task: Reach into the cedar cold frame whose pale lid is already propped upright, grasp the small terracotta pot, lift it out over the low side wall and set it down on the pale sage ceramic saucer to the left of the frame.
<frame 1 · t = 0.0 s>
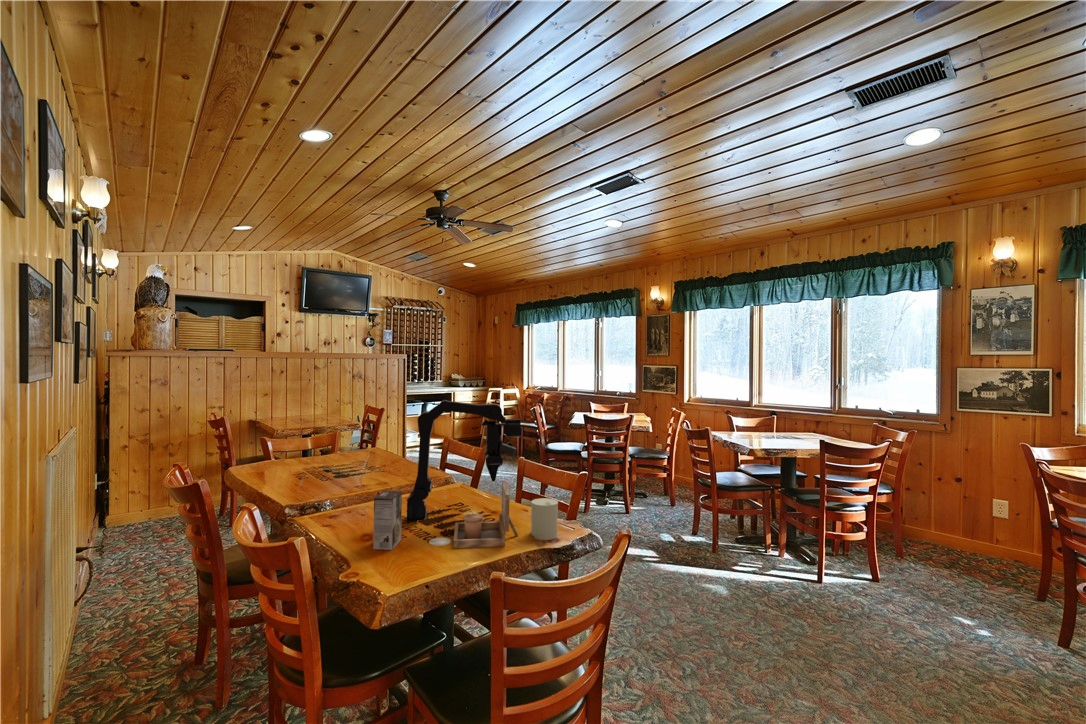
hand: (493, 478, 194), 15 cm above the table, fingers open, 9 cm apart
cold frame: (479, 539, 170), on the table
can: (544, 536, 175), on the table
terracotta pot: (472, 537, 169), point 1 cm above the table, touching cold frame
saucer: (439, 544, 165), on the table
coffee box: (387, 545, 164), on the table
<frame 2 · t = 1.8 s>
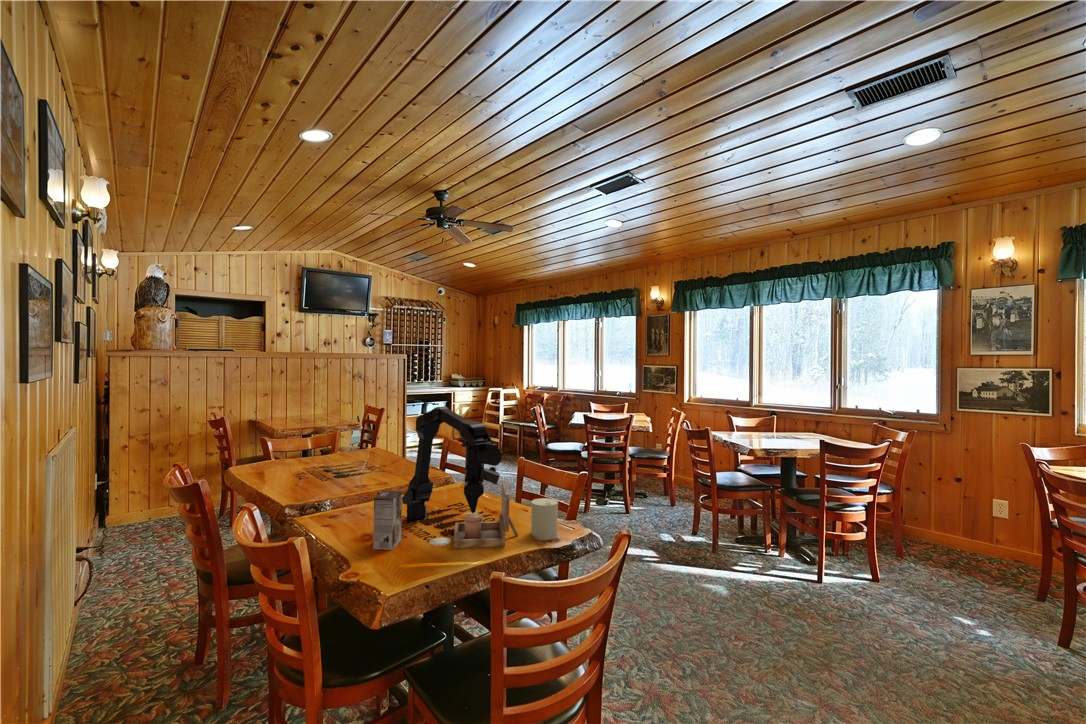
hand: (473, 508, 169), 10 cm above the table, fingers open, 9 cm apart
nothing on the table moved.
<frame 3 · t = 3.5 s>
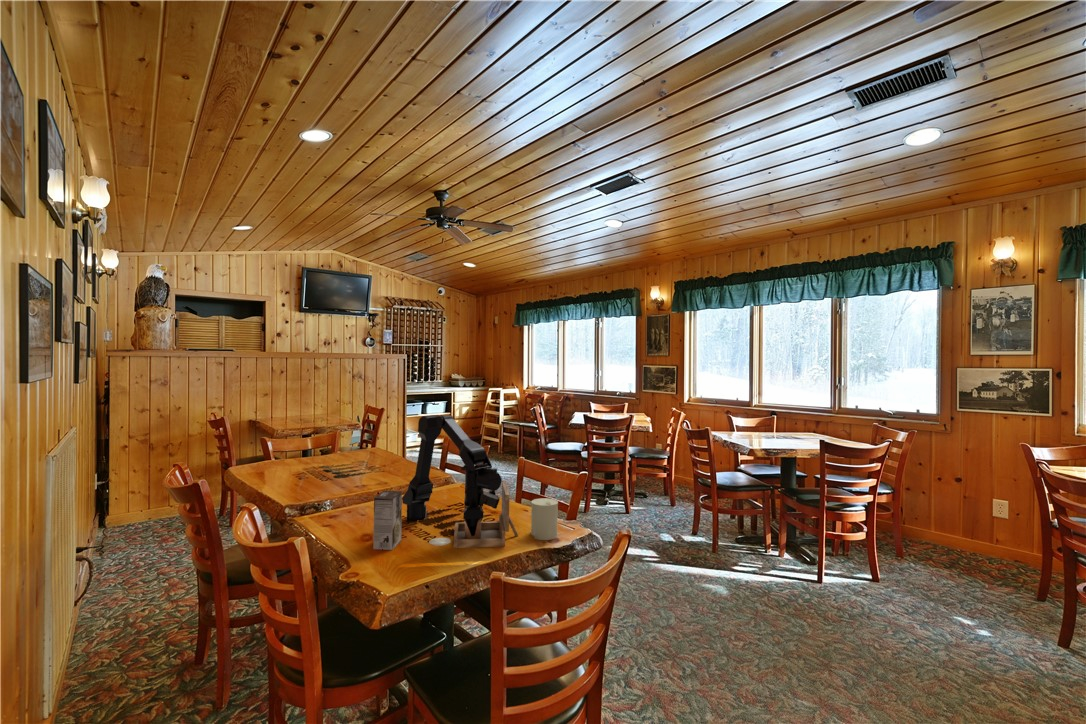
hand: (473, 532, 169), 2 cm above the table, fingers closed on terracotta pot, 5 cm apart
terracotta pot: (472, 537, 169), point 1 cm above the table, touching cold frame, gripper
everything else where it was.
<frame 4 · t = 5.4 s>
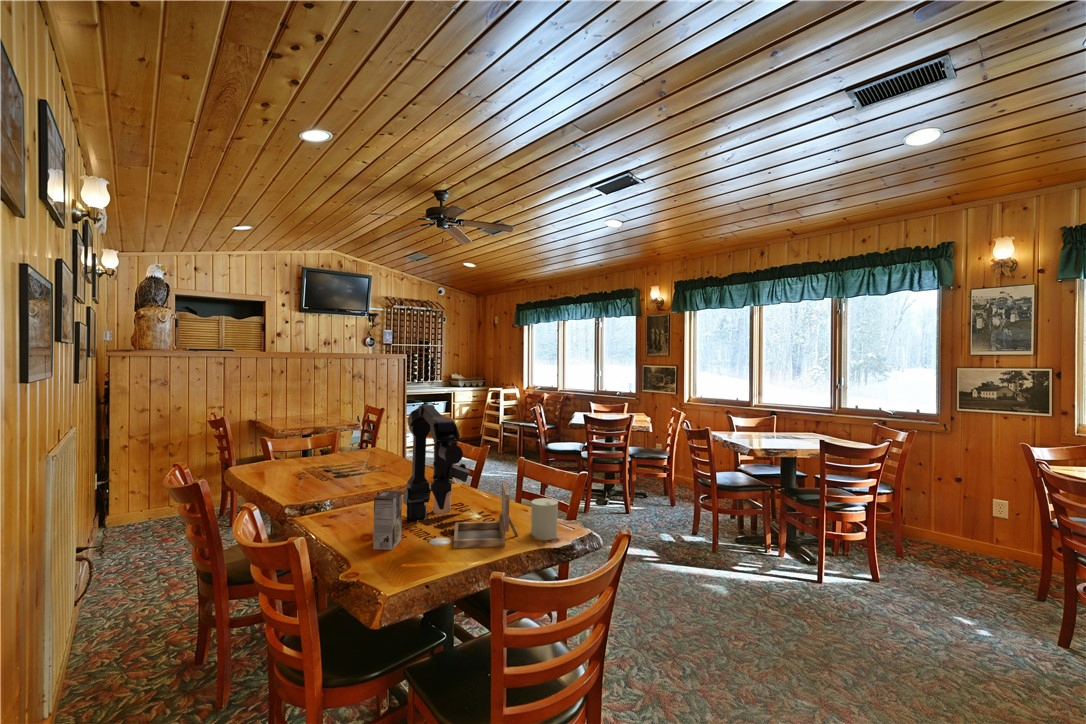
hand: (442, 506, 165), 12 cm above the table, fingers closed on terracotta pot, 5 cm apart
terracotta pot: (442, 511, 165), point 10 cm above the table, touching gripper
everything else where it was.
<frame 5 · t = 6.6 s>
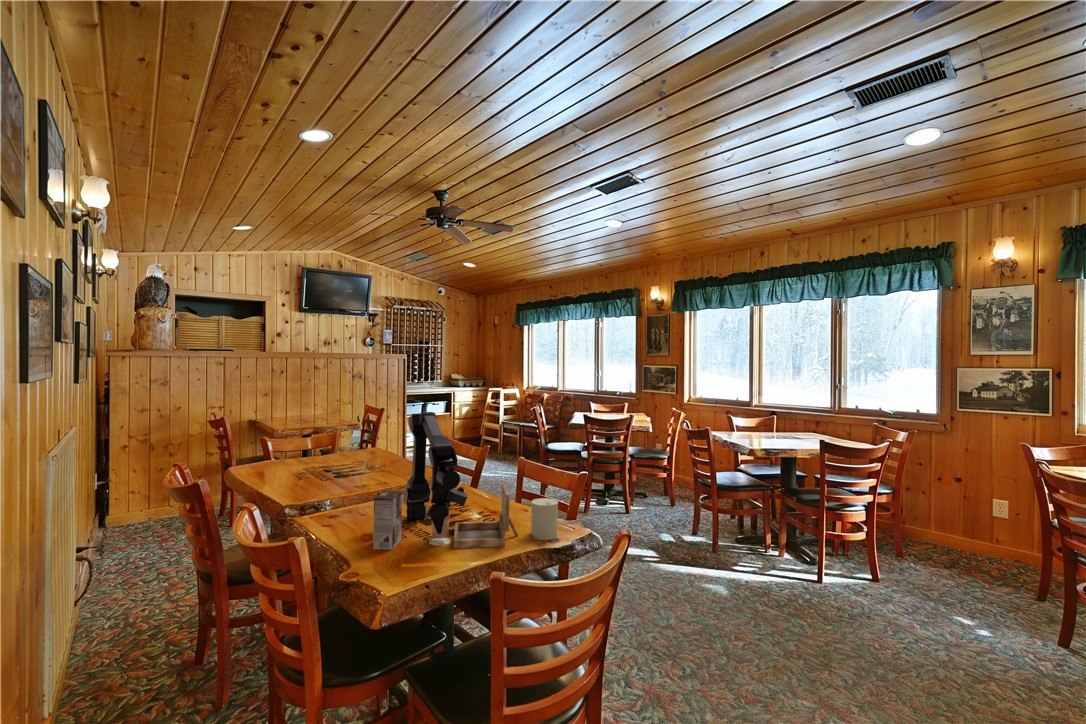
hand: (440, 530, 165), 4 cm above the table, fingers closed on terracotta pot, 5 cm apart
terracotta pot: (440, 535, 165), point 3 cm above the table, touching gripper
everything else where it was.
when the fingers open (4 cm above the table, at t = 7.5 s): terracotta pot drops 1 cm, resting on saucer.
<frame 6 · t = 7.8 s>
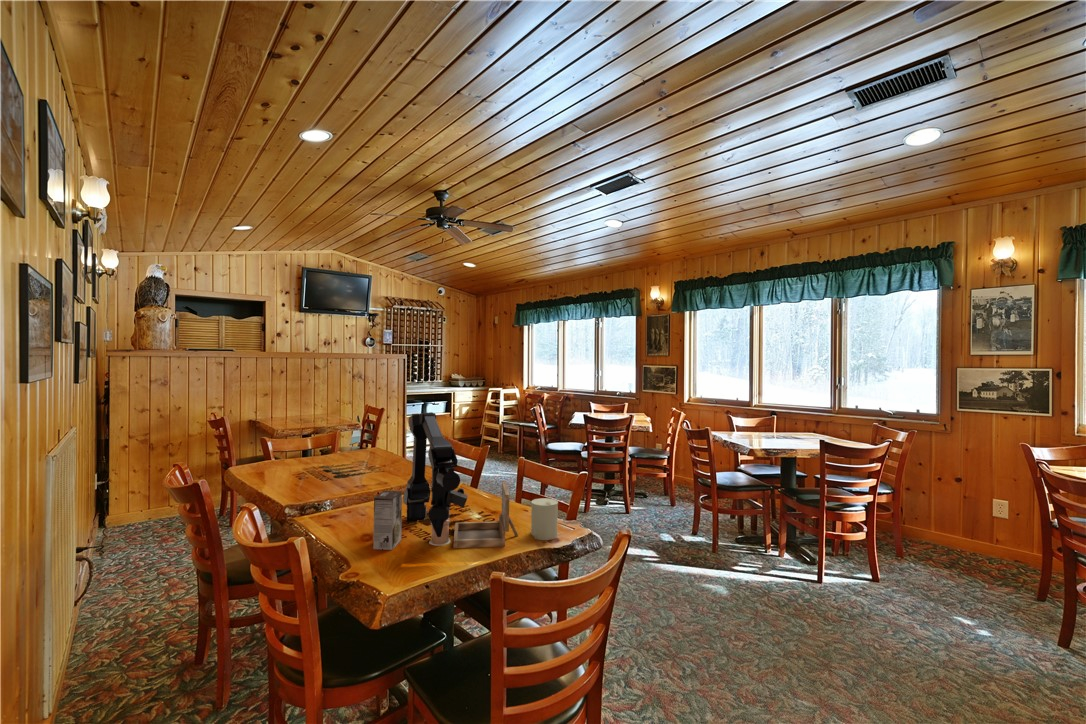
hand: (440, 532, 165), 4 cm above the table, fingers open, 9 cm apart
terracotta pot: (440, 541, 165), point 1 cm above the table, touching saucer
everything else where it was.
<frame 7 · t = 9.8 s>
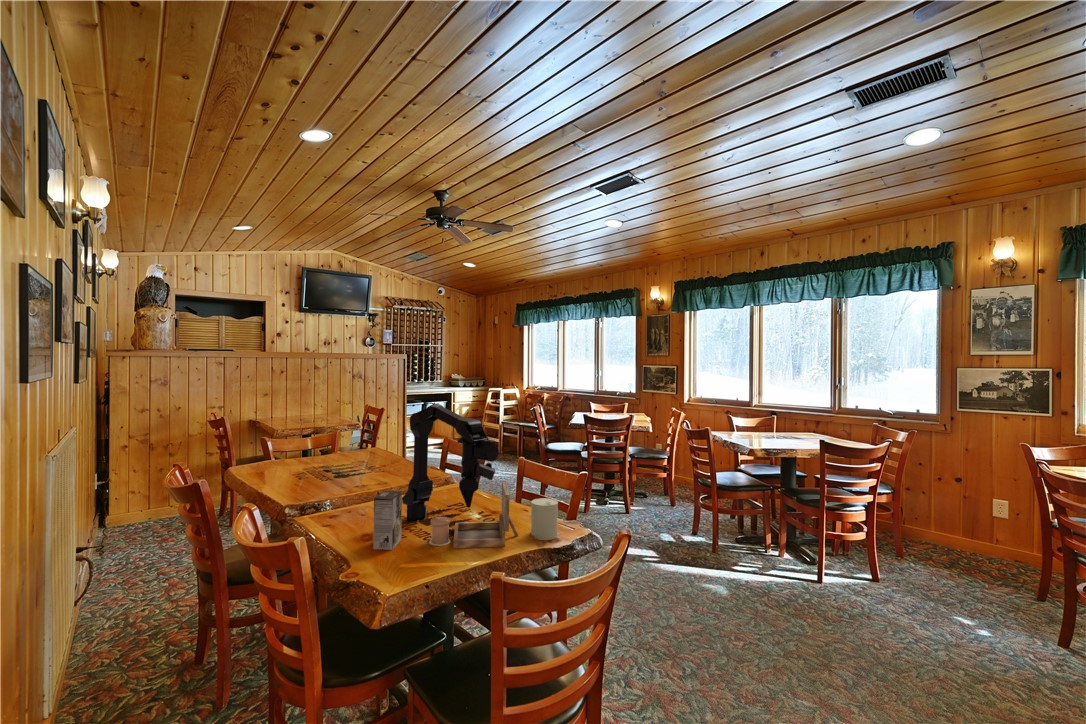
hand: (469, 503, 174), 11 cm above the table, fingers open, 9 cm apart
nothing on the table moved.
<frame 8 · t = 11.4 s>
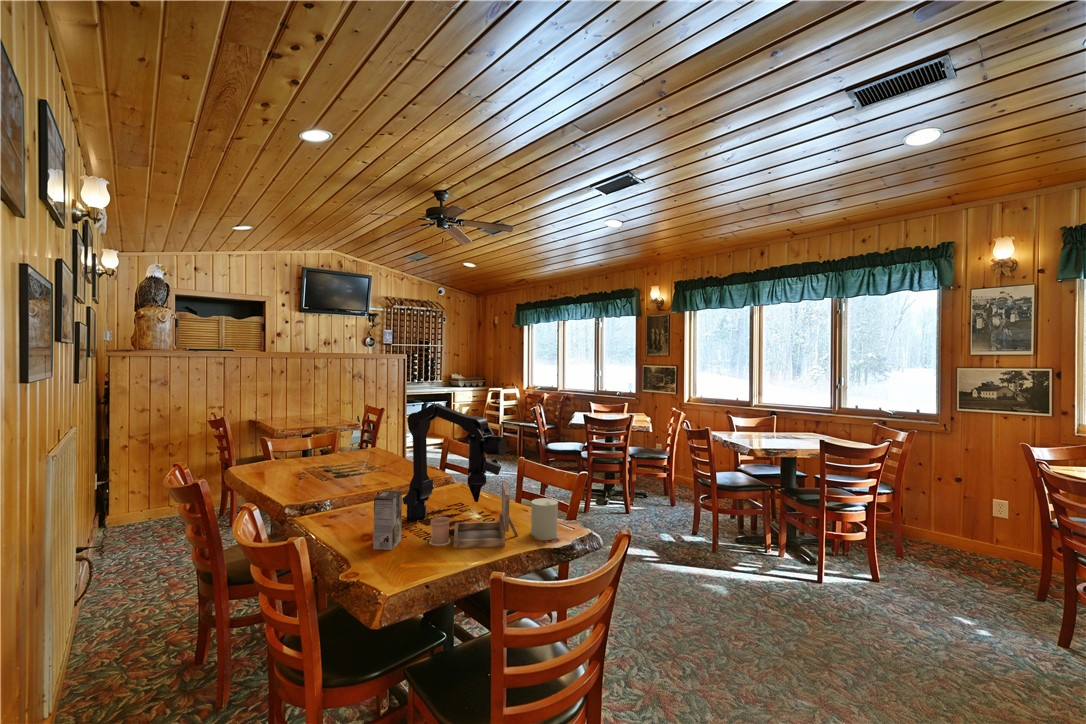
hand: (476, 498, 179), 11 cm above the table, fingers open, 9 cm apart
nothing on the table moved.
at the end: terracotta pot 0.1 cm off-centre on the saucer, point 0.8 cm above the saucer's base; terracotta pot tilted 0°; the gripper is holding nothing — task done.
